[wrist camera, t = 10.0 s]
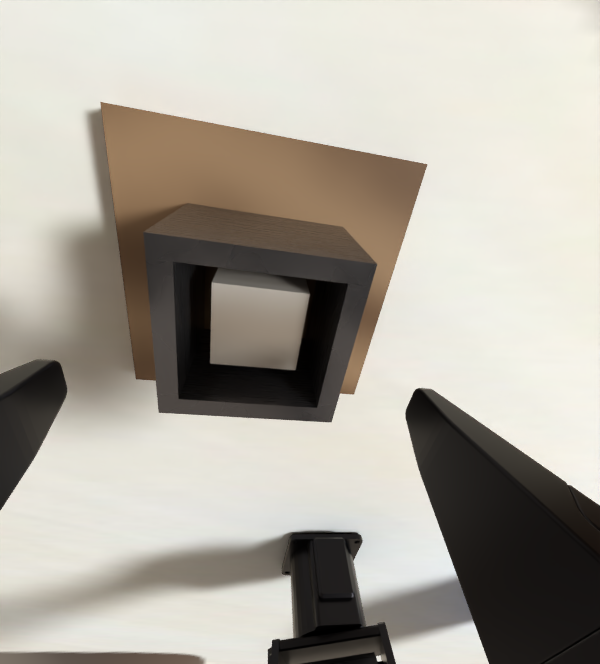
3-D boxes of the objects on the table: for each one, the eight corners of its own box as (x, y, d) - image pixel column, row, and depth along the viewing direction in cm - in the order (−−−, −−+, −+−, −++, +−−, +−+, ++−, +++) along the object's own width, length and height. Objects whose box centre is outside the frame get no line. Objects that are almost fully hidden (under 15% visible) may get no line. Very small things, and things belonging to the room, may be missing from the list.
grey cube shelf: (315, 350, 16) (331, 422, 12) (189, 339, 16) (158, 412, 11) (343, 226, 13) (377, 264, 9) (187, 203, 12) (143, 232, 8)
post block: (350, 383, 19) (373, 451, 15) (142, 367, 17) (100, 439, 13) (417, 163, 13) (487, 170, 9) (113, 105, 11) (18, 80, 7)
